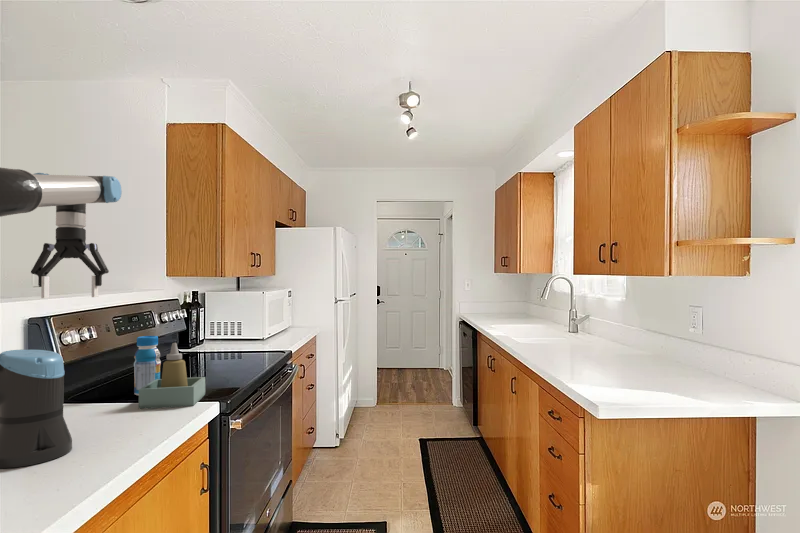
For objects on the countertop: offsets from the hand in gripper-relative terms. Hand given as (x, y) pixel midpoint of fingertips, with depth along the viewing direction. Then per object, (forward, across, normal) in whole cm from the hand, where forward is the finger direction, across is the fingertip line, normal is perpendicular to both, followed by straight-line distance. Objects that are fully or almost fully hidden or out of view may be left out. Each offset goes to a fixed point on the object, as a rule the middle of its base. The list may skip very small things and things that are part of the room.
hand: (70, 297), depth 144 cm
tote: (+35, -27, -9) cm, 45 cm away
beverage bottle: (+35, -14, -24) cm, 45 cm away
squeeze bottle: (+34, -27, -9) cm, 44 cm away
